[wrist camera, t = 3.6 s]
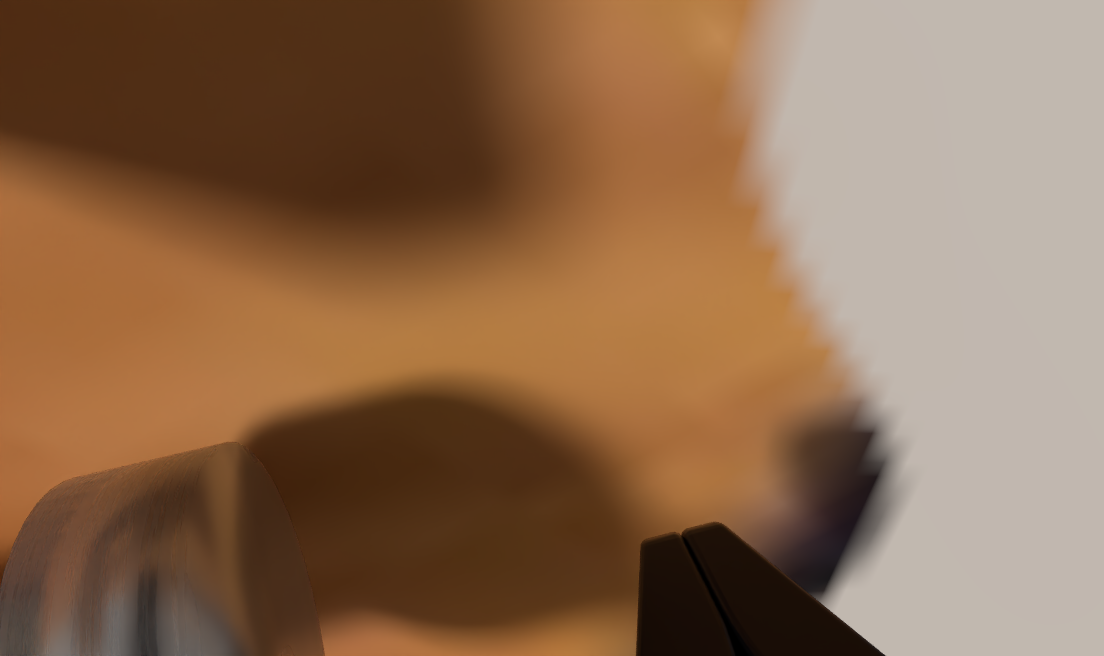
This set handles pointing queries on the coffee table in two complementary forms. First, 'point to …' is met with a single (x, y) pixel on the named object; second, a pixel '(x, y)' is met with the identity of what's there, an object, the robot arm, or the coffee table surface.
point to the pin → (161, 565)
